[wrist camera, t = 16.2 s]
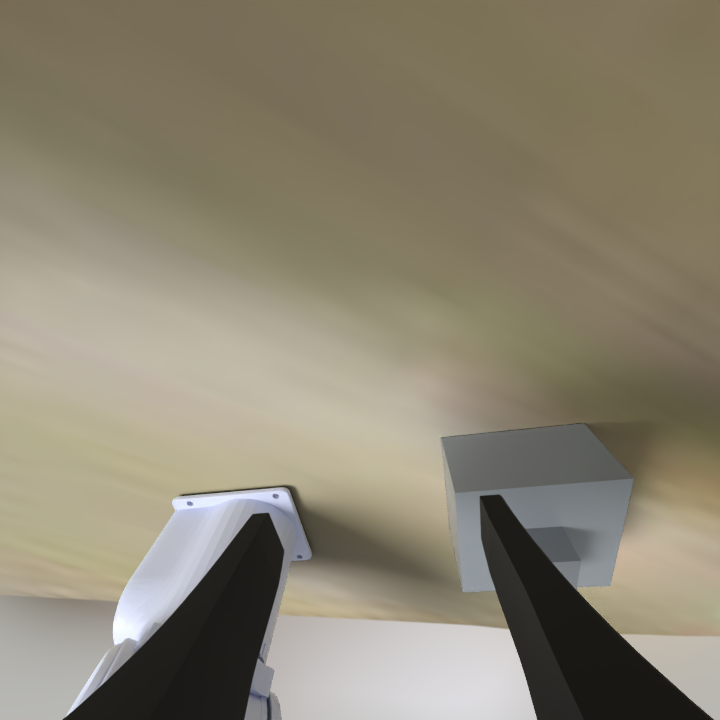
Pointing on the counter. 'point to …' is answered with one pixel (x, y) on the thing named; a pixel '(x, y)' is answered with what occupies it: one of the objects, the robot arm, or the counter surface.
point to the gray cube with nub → (539, 498)
